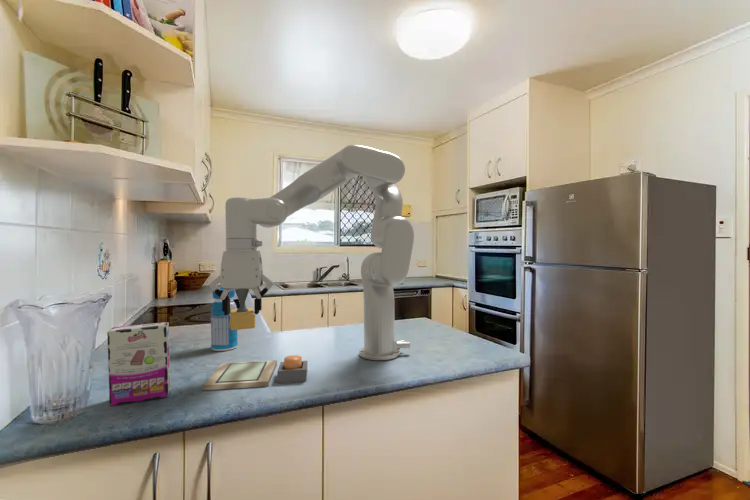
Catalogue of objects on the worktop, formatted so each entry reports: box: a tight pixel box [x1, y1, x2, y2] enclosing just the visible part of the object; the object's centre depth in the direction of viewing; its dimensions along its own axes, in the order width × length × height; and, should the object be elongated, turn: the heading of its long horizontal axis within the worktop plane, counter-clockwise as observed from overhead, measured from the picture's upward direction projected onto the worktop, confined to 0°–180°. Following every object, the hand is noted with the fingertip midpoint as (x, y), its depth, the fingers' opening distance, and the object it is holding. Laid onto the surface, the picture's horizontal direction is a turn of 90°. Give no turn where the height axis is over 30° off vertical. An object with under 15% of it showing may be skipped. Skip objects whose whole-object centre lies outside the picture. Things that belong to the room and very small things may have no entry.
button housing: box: [276, 360, 308, 384], centre depth 92 cm, size 7×7×3 cm
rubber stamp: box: [230, 289, 256, 331], centre depth 93 cm, size 10×6×12 cm, turn 23°
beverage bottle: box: [209, 287, 239, 352], centre depth 119 cm, size 8×8×20 cm
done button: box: [283, 354, 303, 369], centre depth 92 cm, size 4×4×4 cm
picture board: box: [202, 359, 278, 391], centre depth 93 cm, size 15×16×1 cm
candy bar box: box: [106, 321, 172, 407], centre depth 80 cm, size 11×5×16 cm, turn 114°
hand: (242, 313), depth 93 cm, fingers closed on rubber stamp, 6 cm apart
